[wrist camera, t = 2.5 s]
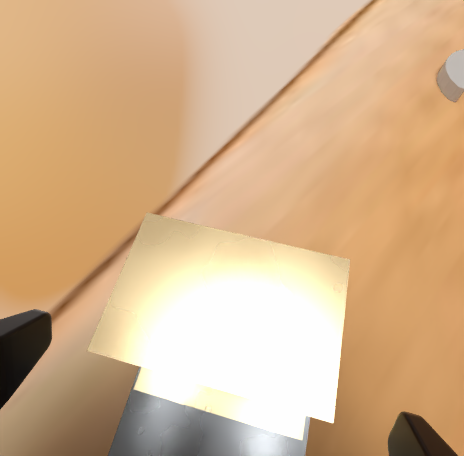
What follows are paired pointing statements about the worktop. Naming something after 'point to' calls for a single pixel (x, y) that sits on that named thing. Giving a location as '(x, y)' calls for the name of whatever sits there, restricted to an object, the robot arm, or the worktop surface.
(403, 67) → the worktop surface
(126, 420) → the brushed steel slab
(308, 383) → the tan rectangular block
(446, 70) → the adjustable wrench
